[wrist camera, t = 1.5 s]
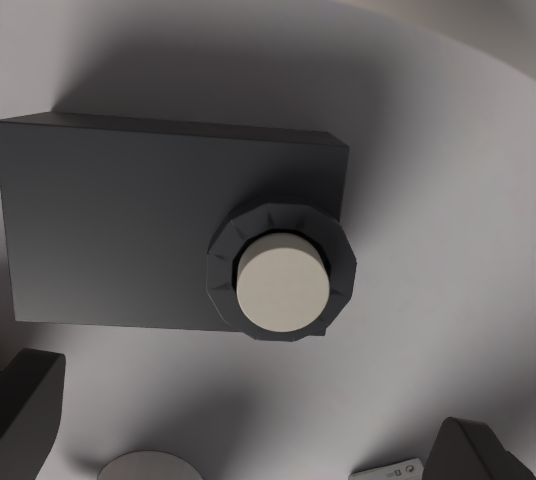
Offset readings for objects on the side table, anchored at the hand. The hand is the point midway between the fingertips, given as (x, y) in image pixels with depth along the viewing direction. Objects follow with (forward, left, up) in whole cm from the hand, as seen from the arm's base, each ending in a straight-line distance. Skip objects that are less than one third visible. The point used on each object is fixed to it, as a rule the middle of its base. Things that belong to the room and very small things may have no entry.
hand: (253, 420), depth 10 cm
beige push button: (0, +2, -12) cm, 12 cm away
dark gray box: (+4, -1, -20) cm, 20 cm away
